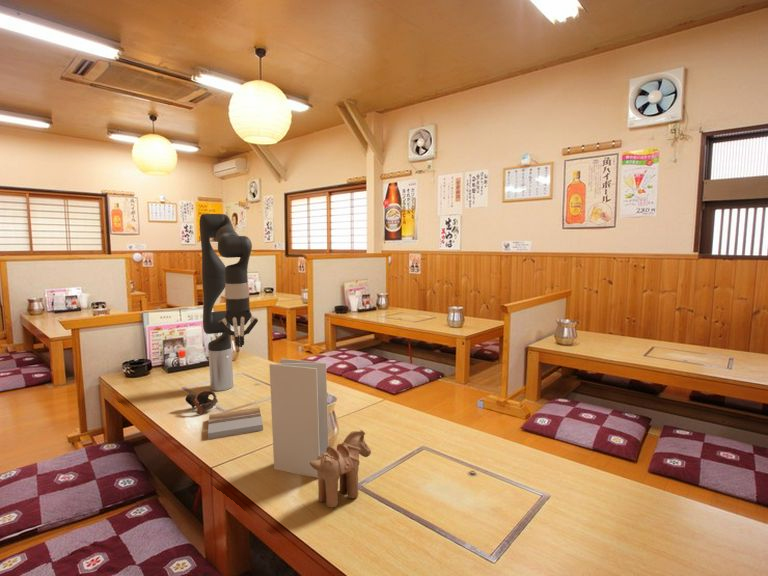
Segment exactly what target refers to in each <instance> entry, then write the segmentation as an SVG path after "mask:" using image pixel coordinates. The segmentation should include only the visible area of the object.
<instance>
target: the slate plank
mask: <svg viewBox="0 0 768 576" xmlns="http://www.w3.org/2000/svg"><path fill="white" fill-rule="evenodd" d="M207 428H208V429H207V438H208V440H211V439H212V440H213V439H219V438H224V437H231V436H237V435H242V434H248V433H250V434H251V433H255V432H262V431H264V423H263V417H262V415H261V416H258V417H252V418H245V419H239V420H232V421H226V422H219V423H213V424H209V423H208V427H207Z"/></svg>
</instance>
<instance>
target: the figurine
mask: <svg viewBox="0 0 768 576" xmlns="http://www.w3.org/2000/svg"><path fill="white" fill-rule="evenodd" d="M365 435H366V432H365V431H364V430H363V429H360V430H353V431H350V432H349V433H348V434H347V435H346V437H345V439H344V440H343V441H342V442H341V443H338V444H337V446H336V448H335V446H334V447H333V446H328V447H327V451H326V452H324V453H323V454H321V455H319V456H318V458H317V461H310V465H311V466H312V467H313V468H314V469H316V470H317V473H318V478H317V482H318V483H317V485H318V488H317V489H318V492H317V494H318V497H317V498H318V499H317V500H318V501H319V502H321V503H322V502H323V503H325V502H326V506H327V507H329V508H335V507H337V505H338V504H339V500H338V498H339V497H338V494H339V493H338V491H340V492H341V493H342V494H347V497H348V498H350V499H355V498H358V497H359V495H360V494H359V465H360V464H361V463H360V456H362V457H364V458H367V457H369V456H370V455H371V453H372V452H371V451H372V449H371V448H370V447H369V446H368V444H367V443H366V440H365ZM338 488H339V490H338Z"/></svg>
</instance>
